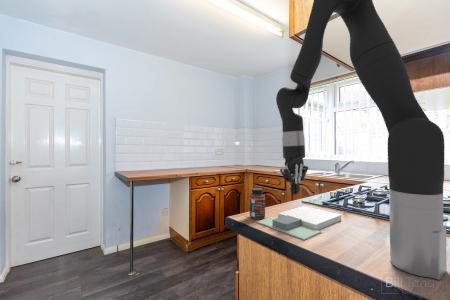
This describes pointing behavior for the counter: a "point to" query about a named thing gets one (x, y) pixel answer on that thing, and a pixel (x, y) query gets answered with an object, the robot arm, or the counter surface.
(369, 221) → the counter surface
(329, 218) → the riser
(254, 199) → the supplement bottle
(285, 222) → the grey flat block
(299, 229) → the mat
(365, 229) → the counter surface
